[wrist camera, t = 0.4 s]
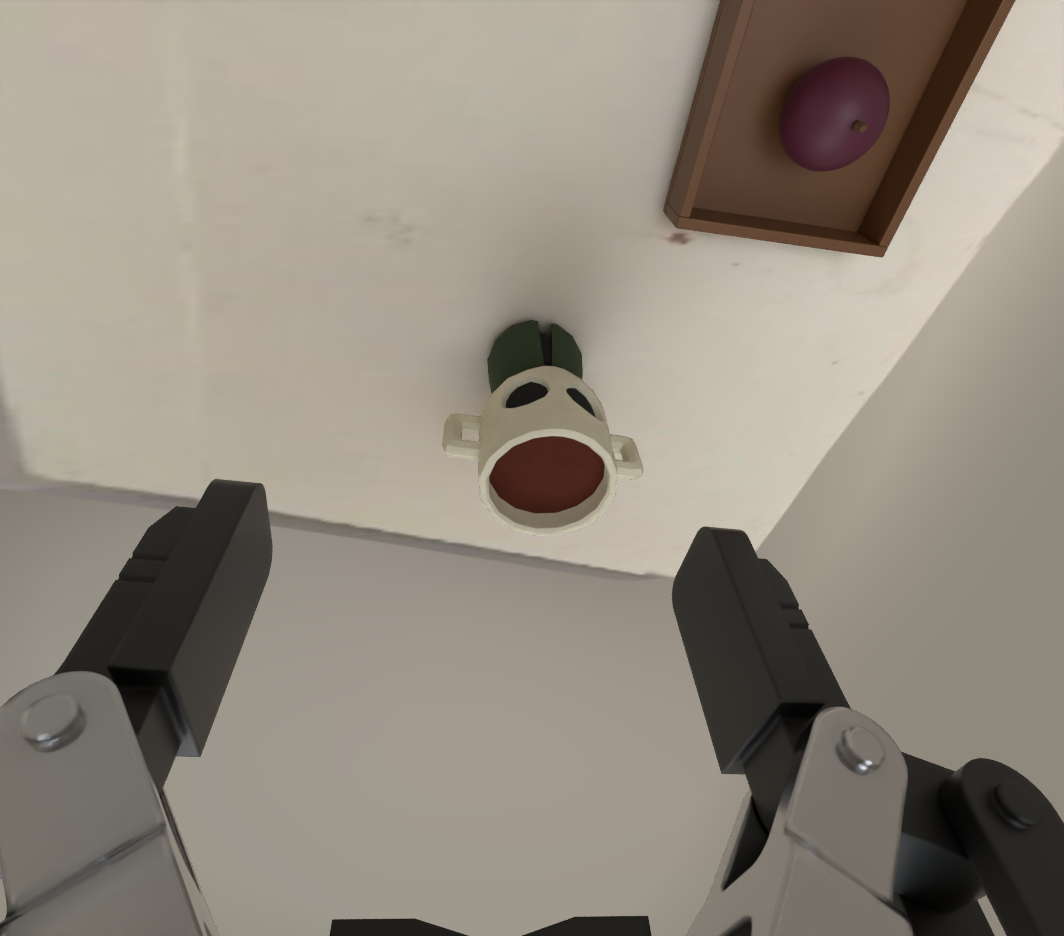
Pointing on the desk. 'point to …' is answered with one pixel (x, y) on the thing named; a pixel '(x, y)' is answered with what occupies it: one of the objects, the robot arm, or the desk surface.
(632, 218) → the desk surface
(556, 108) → the desk surface
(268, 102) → the desk surface
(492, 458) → the character mug
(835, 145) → the plum
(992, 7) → the tray
